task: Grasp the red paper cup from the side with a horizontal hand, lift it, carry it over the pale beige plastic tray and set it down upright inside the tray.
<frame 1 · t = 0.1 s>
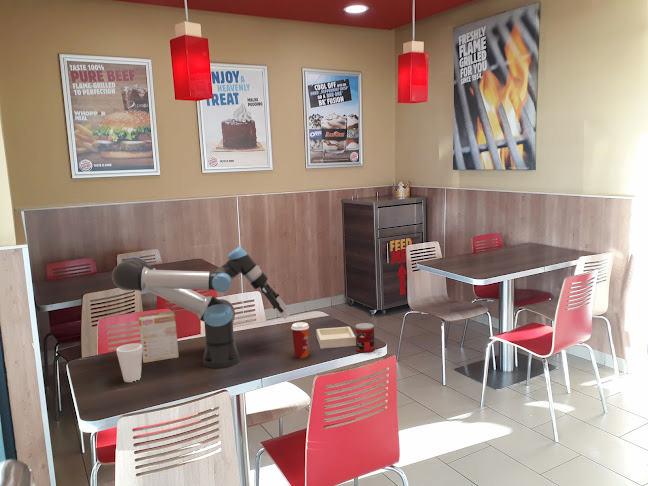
hand: (286, 313, 237), 15 cm above the table, tool tilted 35°, fingers open, 13 cm apart
foam cup: (132, 379, 209), on the table
coffeecake box: (160, 358, 231), on the table
paper cup: (301, 356, 226), on the table
tray: (335, 341, 243), on the table
canned food: (365, 350, 230), on the table
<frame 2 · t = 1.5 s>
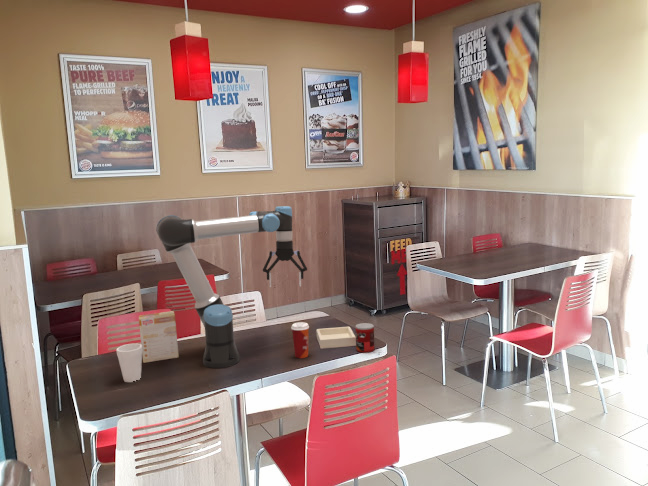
hand: (285, 286, 241), 26 cm above the table, tool pointing down, fingers open, 13 cm apart
nothing on the table moved.
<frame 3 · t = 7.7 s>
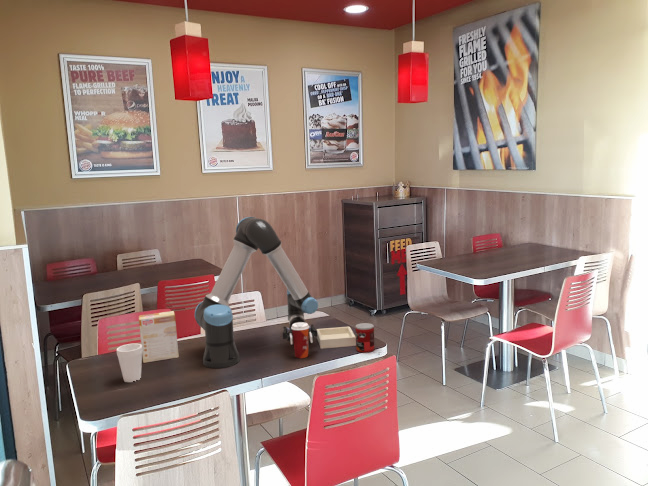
hand: (301, 340, 220), 9 cm above the table, tool horizontal, fingers closed on paper cup, 8 cm apart
paper cup: (301, 356, 226), on the table, touching gripper
everything else where it was.
when the fingers open (10 cm above the table, at t = 13.1 s): paper cup stays where it is, resting on tray.
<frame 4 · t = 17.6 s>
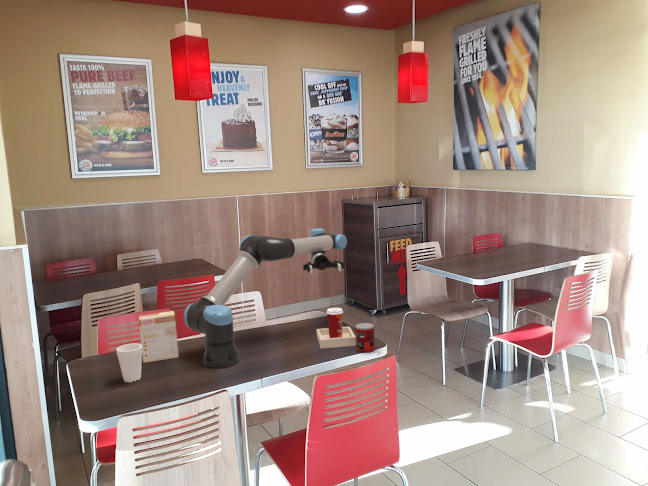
hand: (326, 269, 247), 32 cm above the table, tool horizontal, fingers open, 13 cm apart
paper cup: (335, 339, 243), point 1 cm above the table, touching tray
everything else where it was.
at the end: paper cup inside the target area on the tray (0.0 cm from its centre), point 1.0 cm above the tray's base; paper cup tilted 0°; the gripper is holding nothing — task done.
